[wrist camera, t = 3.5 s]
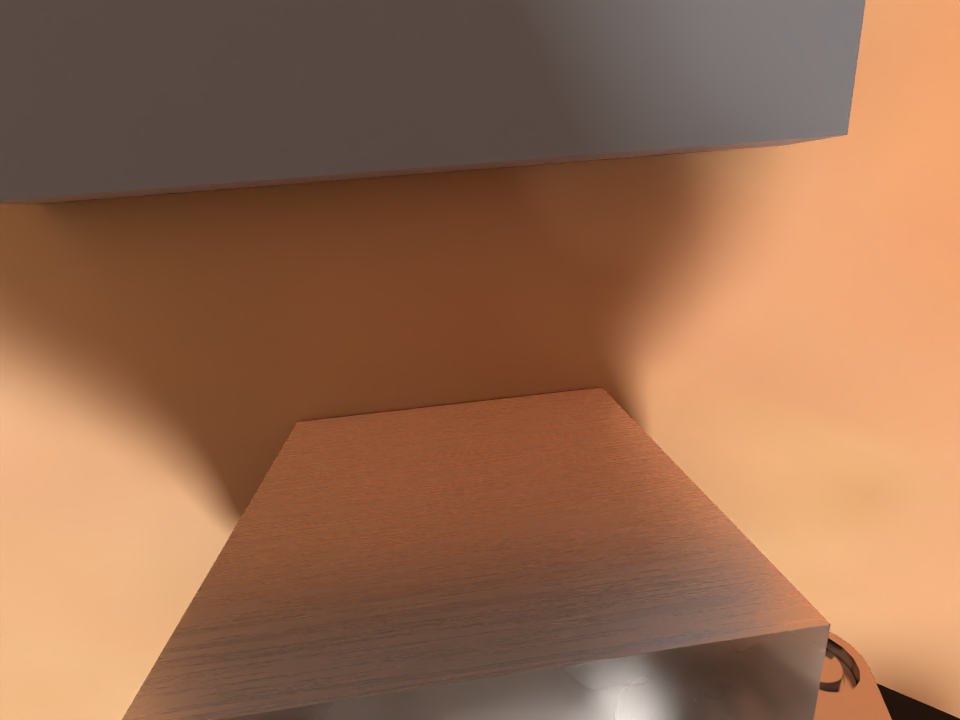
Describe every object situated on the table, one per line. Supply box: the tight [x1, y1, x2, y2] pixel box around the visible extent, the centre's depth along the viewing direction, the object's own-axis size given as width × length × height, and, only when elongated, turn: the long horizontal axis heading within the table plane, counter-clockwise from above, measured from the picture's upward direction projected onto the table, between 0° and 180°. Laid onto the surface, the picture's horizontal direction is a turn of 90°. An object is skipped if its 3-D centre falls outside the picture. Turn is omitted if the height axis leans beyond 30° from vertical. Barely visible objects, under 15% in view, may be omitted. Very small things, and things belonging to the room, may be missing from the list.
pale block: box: [122, 388, 830, 720], centre depth 9 cm, size 7×7×6 cm
